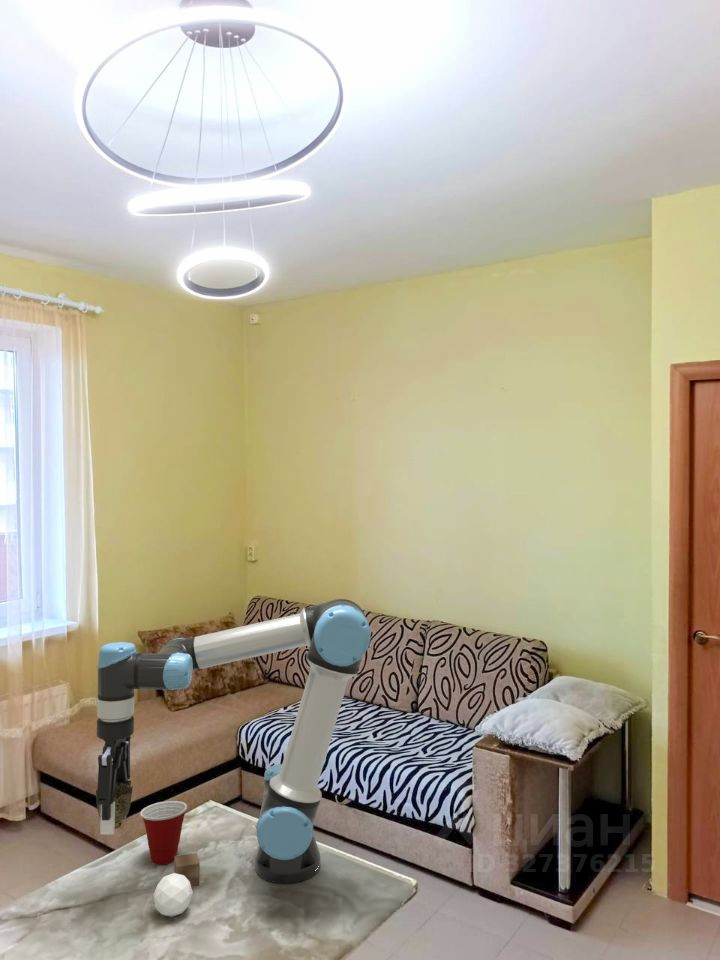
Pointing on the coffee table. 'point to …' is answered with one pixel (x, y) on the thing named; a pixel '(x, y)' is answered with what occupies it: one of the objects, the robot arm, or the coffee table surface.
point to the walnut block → (188, 867)
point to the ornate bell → (120, 803)
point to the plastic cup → (163, 829)
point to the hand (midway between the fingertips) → (113, 825)
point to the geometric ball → (172, 895)
